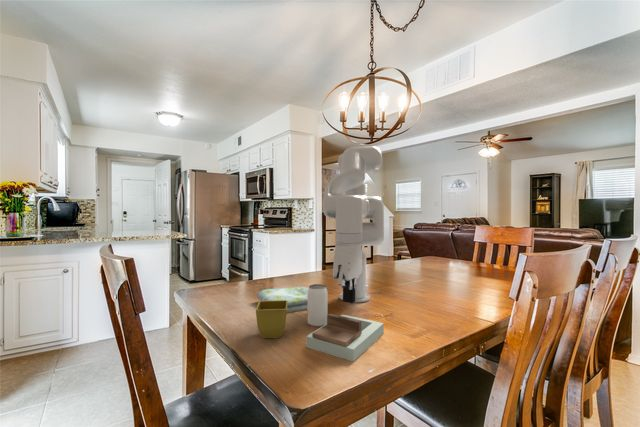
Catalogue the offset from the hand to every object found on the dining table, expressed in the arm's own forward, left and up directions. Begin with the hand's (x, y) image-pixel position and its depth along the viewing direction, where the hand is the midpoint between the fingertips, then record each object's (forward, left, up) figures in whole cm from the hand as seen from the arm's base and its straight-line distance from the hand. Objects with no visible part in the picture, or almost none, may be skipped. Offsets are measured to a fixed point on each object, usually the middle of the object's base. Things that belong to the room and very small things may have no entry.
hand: (349, 301), depth 87 cm
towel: (-15, -34, -11) cm, 38 cm away
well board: (+2, 0, -10) cm, 10 cm away
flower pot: (+11, -20, -11) cm, 25 cm away
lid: (+7, 0, -7) cm, 10 cm away
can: (-4, -14, -11) cm, 18 cm away
